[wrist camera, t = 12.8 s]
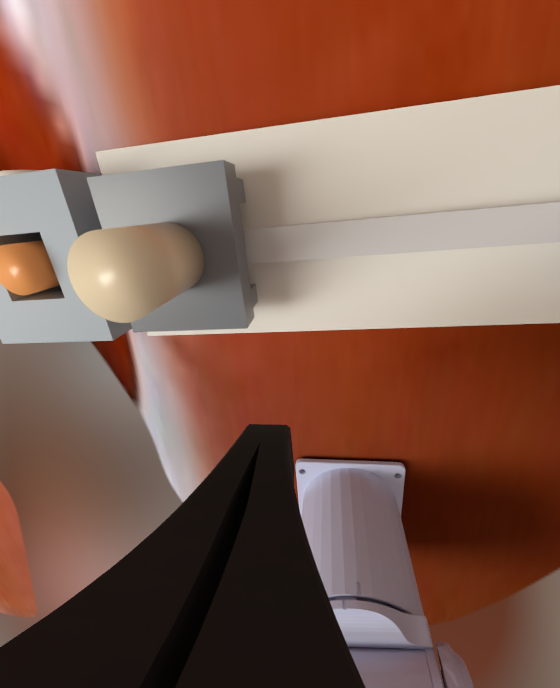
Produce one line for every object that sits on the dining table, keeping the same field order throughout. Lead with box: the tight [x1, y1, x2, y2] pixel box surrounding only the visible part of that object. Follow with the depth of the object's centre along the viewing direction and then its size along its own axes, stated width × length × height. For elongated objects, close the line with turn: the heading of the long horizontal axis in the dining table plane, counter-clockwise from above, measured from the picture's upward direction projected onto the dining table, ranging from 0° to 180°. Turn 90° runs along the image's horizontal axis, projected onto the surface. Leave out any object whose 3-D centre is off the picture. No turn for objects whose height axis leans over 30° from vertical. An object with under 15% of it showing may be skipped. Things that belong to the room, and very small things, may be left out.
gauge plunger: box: [0, 240, 60, 295], centre depth 16 cm, size 2×2×4 cm
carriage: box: [67, 160, 258, 332], centre depth 13 cm, size 7×6×7 cm
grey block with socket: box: [0, 169, 132, 344], centre depth 17 cm, size 8×7×4 cm
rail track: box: [95, 85, 560, 336], centre depth 15 cm, size 10×24×4 cm, turn 95°
